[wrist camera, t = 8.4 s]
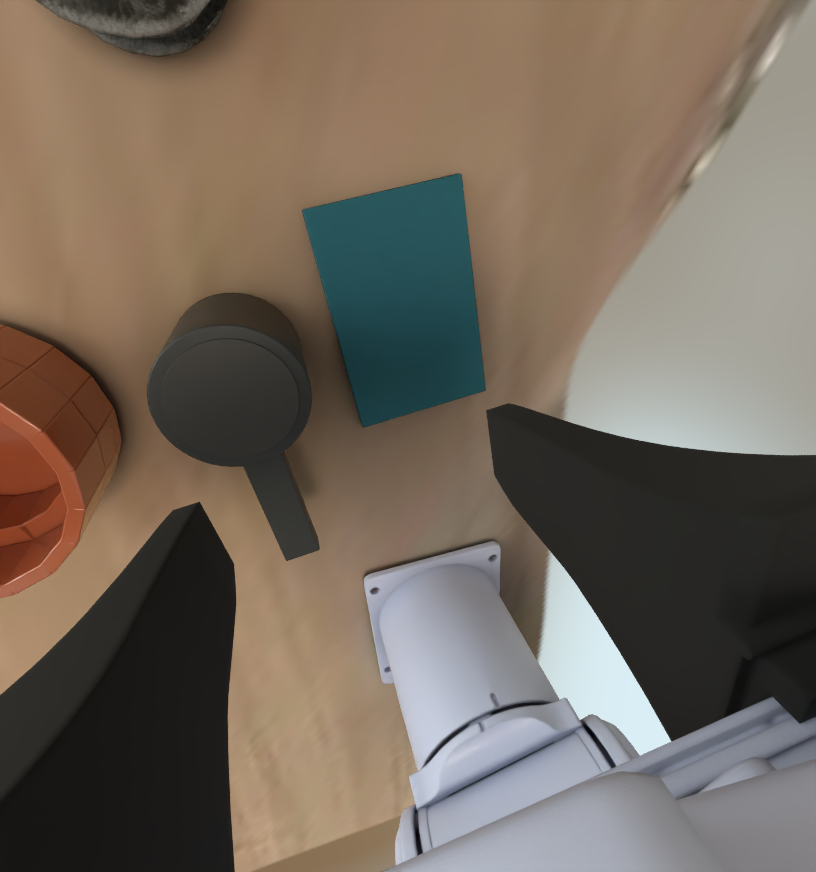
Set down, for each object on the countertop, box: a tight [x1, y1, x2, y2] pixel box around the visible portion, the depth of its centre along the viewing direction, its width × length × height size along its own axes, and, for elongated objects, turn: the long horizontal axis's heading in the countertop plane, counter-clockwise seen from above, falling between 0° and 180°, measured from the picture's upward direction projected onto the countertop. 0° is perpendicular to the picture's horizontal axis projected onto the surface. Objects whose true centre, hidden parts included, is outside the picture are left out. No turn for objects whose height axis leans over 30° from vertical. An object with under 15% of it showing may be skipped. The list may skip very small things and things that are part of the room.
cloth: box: [302, 174, 486, 427], centre depth 19 cm, size 6×9×1 cm, turn 11°
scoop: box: [147, 293, 319, 561], centre depth 18 cm, size 10×5×5 cm, turn 11°
